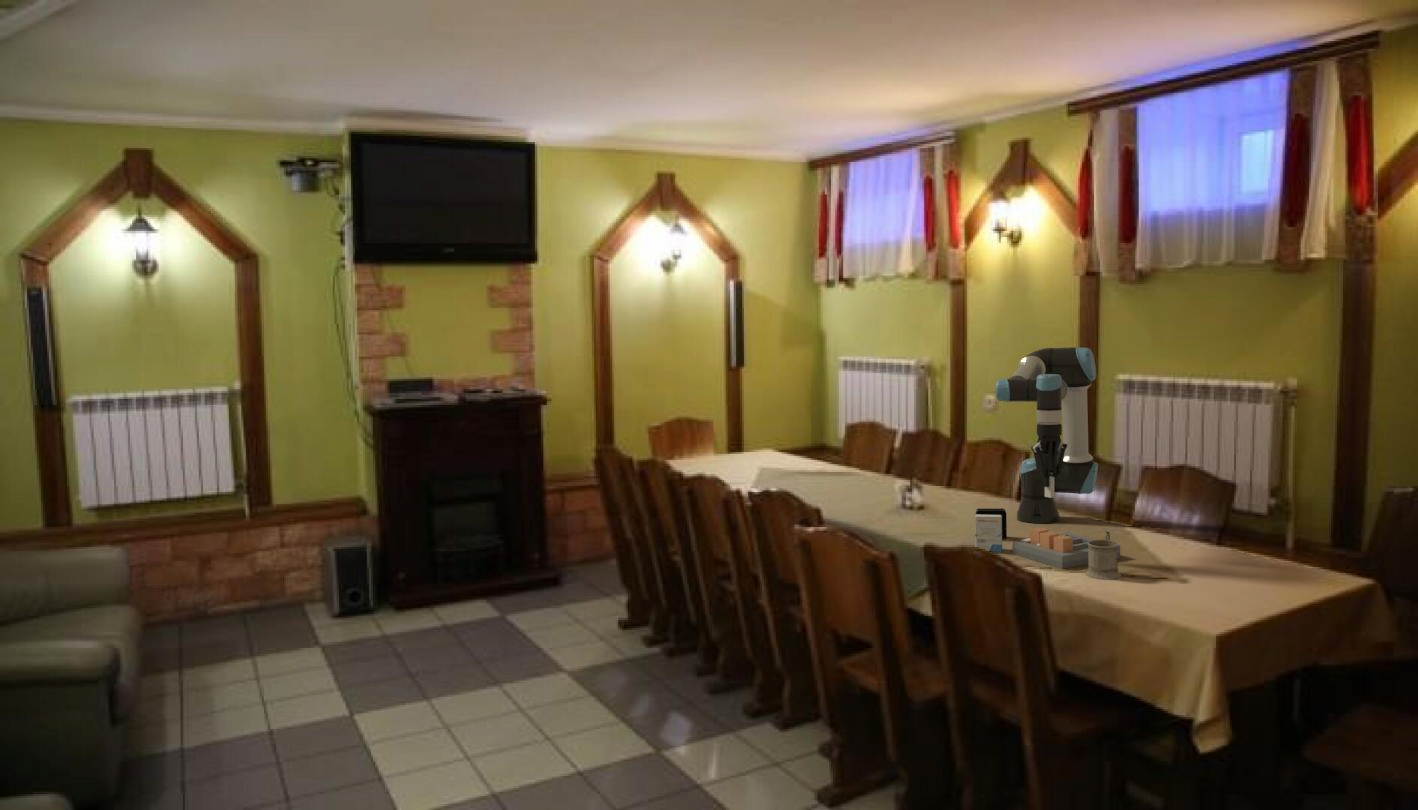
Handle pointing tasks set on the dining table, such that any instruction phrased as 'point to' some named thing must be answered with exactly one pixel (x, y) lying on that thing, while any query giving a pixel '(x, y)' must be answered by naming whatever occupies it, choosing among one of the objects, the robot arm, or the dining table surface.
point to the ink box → (988, 532)
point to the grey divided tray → (1056, 552)
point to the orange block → (1063, 544)
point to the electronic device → (995, 512)
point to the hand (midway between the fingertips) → (1049, 496)
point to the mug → (1103, 559)
